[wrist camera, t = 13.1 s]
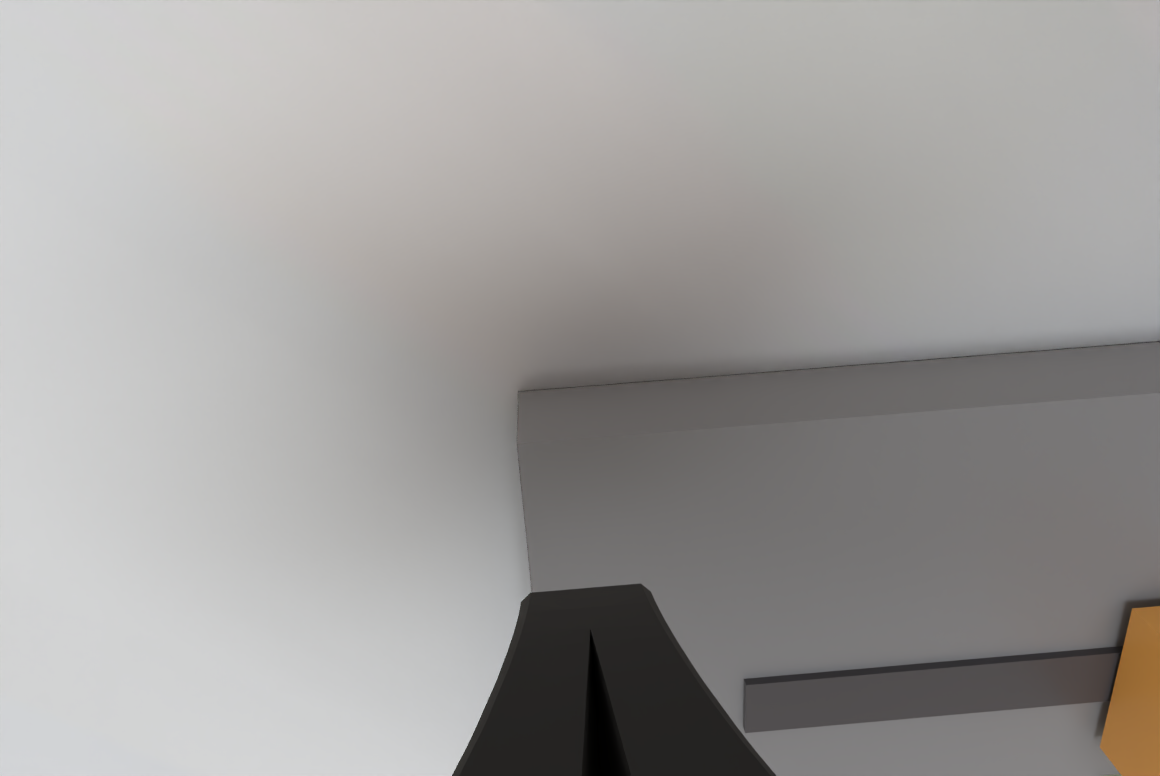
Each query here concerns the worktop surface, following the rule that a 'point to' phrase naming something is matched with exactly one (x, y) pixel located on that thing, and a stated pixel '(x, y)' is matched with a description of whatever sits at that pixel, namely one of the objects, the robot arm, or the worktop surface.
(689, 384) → the breaker panel
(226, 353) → the worktop surface
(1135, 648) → the block
